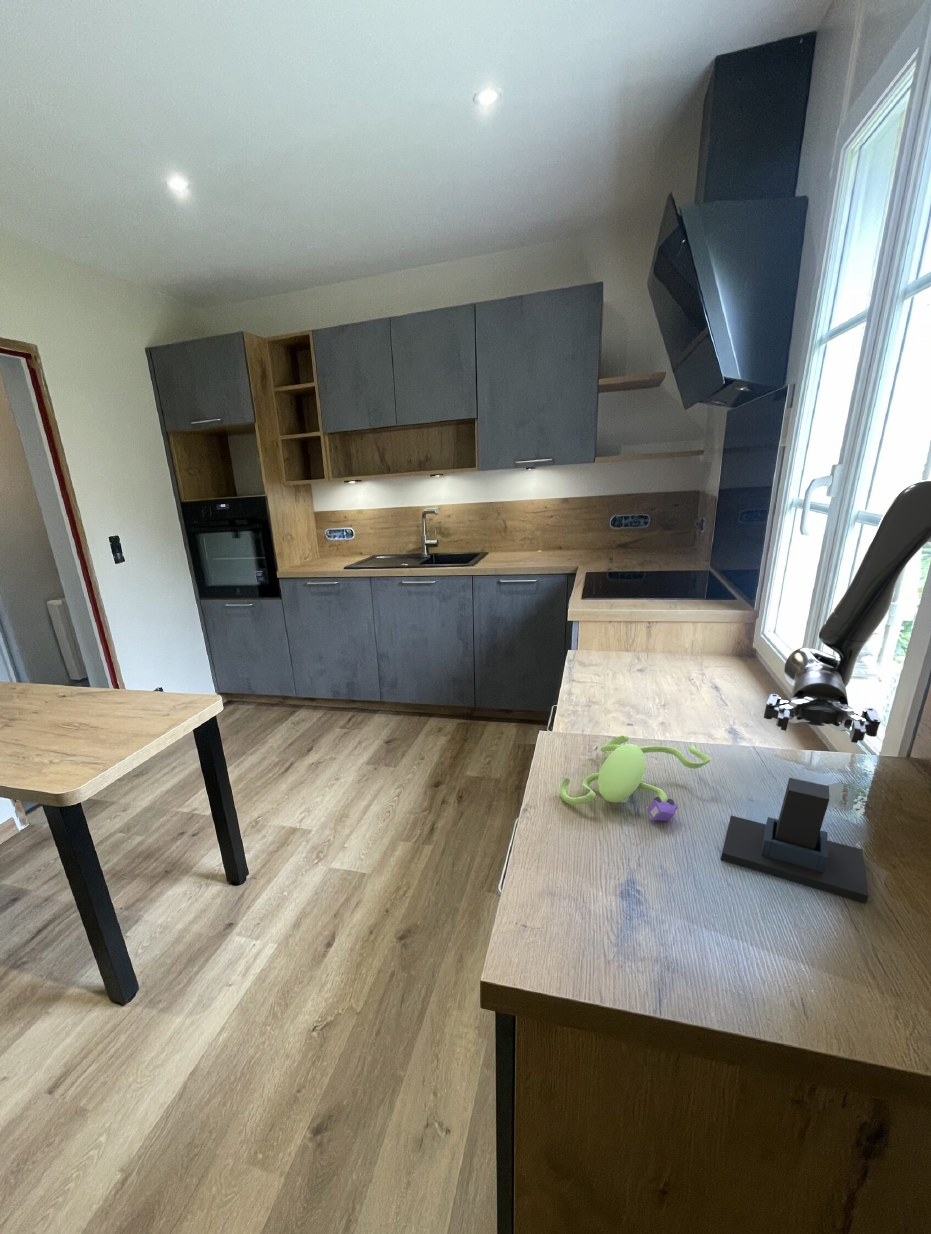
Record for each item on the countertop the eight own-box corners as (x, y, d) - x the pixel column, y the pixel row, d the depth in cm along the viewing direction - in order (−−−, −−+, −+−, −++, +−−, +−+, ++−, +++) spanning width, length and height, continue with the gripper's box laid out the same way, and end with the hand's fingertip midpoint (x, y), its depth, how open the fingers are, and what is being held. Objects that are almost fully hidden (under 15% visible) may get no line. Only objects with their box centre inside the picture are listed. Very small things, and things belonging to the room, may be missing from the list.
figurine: (713, 773, 99) (718, 745, 97) (664, 842, 81) (669, 810, 79) (612, 745, 111) (615, 719, 109) (549, 800, 92) (551, 771, 90)
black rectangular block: (810, 848, 77) (828, 785, 73) (810, 863, 74) (829, 799, 70) (773, 838, 79) (789, 777, 76) (771, 852, 76) (788, 790, 72)
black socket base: (860, 856, 77) (867, 834, 75) (865, 903, 68) (874, 879, 67) (729, 821, 85) (734, 801, 84) (720, 859, 77) (725, 837, 76)
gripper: (773, 669, 96) (767, 698, 83) (878, 682, 88) (889, 716, 76) (764, 709, 98) (757, 743, 86) (865, 725, 91) (874, 764, 78)
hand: (819, 730), depth 81 cm, fingers open, 8 cm apart
